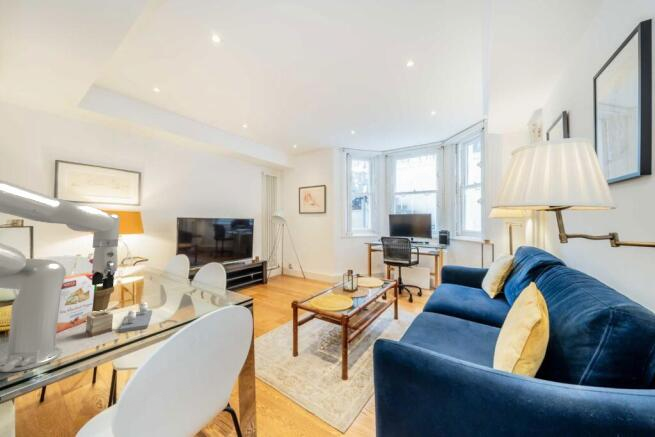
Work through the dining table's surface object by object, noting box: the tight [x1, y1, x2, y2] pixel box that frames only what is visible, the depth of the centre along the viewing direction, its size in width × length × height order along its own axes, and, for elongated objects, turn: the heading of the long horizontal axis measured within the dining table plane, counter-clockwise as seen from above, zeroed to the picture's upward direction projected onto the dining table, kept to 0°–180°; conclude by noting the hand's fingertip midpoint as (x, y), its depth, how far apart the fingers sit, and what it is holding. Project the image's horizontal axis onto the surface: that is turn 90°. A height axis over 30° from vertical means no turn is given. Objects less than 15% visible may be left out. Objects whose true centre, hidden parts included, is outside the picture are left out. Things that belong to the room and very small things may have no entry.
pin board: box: [119, 301, 153, 334], centre depth 107 cm, size 20×9×7 cm, turn 32°
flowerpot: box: [88, 258, 115, 312], centre depth 119 cm, size 14×14×30 cm
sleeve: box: [85, 310, 114, 338], centre depth 96 cm, size 6×6×7 cm
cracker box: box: [56, 272, 95, 334], centre depth 101 cm, size 14×6×21 cm, turn 179°
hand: (102, 286), depth 96 cm, fingers open, 9 cm apart
